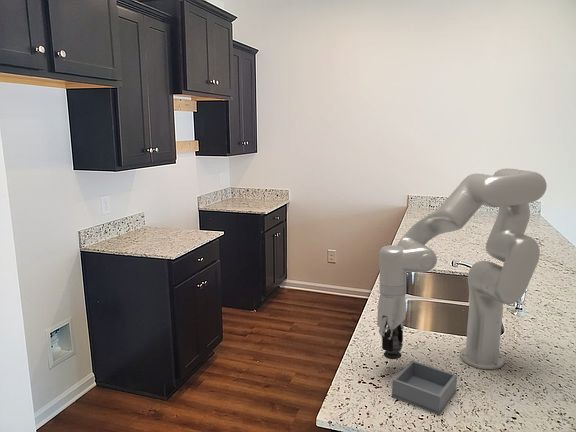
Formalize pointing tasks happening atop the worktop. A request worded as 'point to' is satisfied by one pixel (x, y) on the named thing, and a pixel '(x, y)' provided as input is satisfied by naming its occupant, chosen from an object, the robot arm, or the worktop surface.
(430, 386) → the bin
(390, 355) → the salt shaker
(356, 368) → the worktop surface
